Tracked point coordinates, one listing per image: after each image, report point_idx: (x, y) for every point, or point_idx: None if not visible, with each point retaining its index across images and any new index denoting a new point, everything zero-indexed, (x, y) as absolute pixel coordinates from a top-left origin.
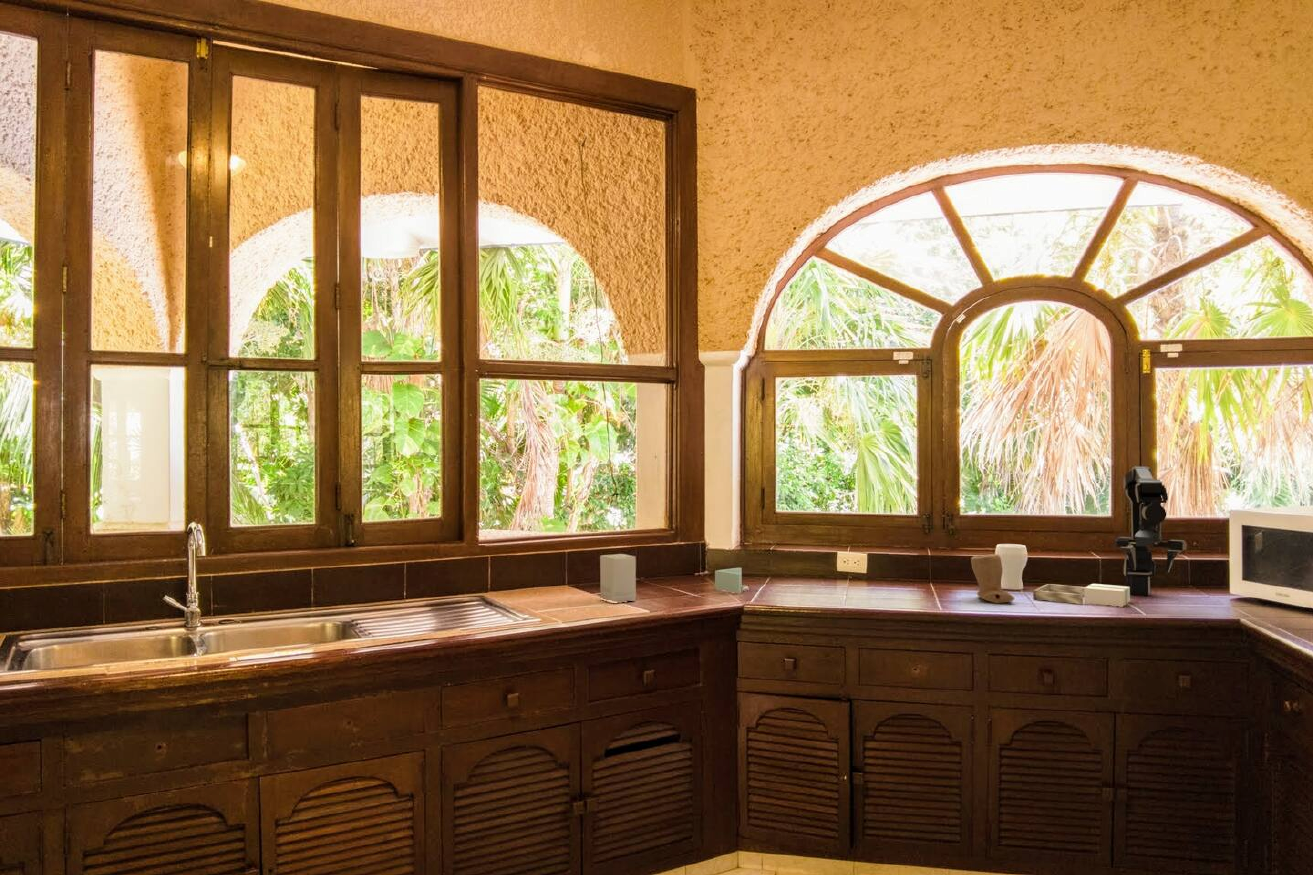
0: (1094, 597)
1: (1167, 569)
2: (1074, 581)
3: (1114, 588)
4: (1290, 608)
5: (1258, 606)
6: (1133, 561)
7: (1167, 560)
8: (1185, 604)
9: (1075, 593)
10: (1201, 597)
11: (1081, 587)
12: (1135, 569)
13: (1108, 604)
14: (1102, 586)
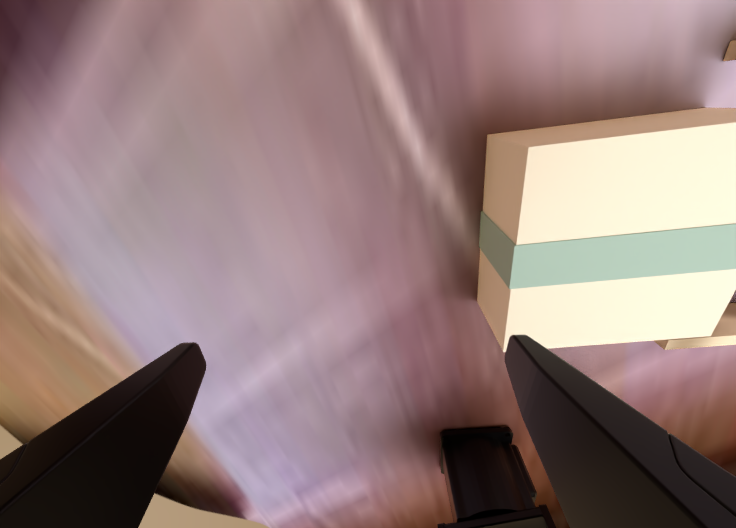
0: (681, 116)
1: (157, 363)
2: None
3: (586, 238)
4: None
5: None
6: (584, 411)
7: (30, 475)
8: (291, 370)
9: (728, 310)
10: (309, 484)
11: (732, 334)
12: (506, 358)
13: (568, 125)
14: (662, 265)
